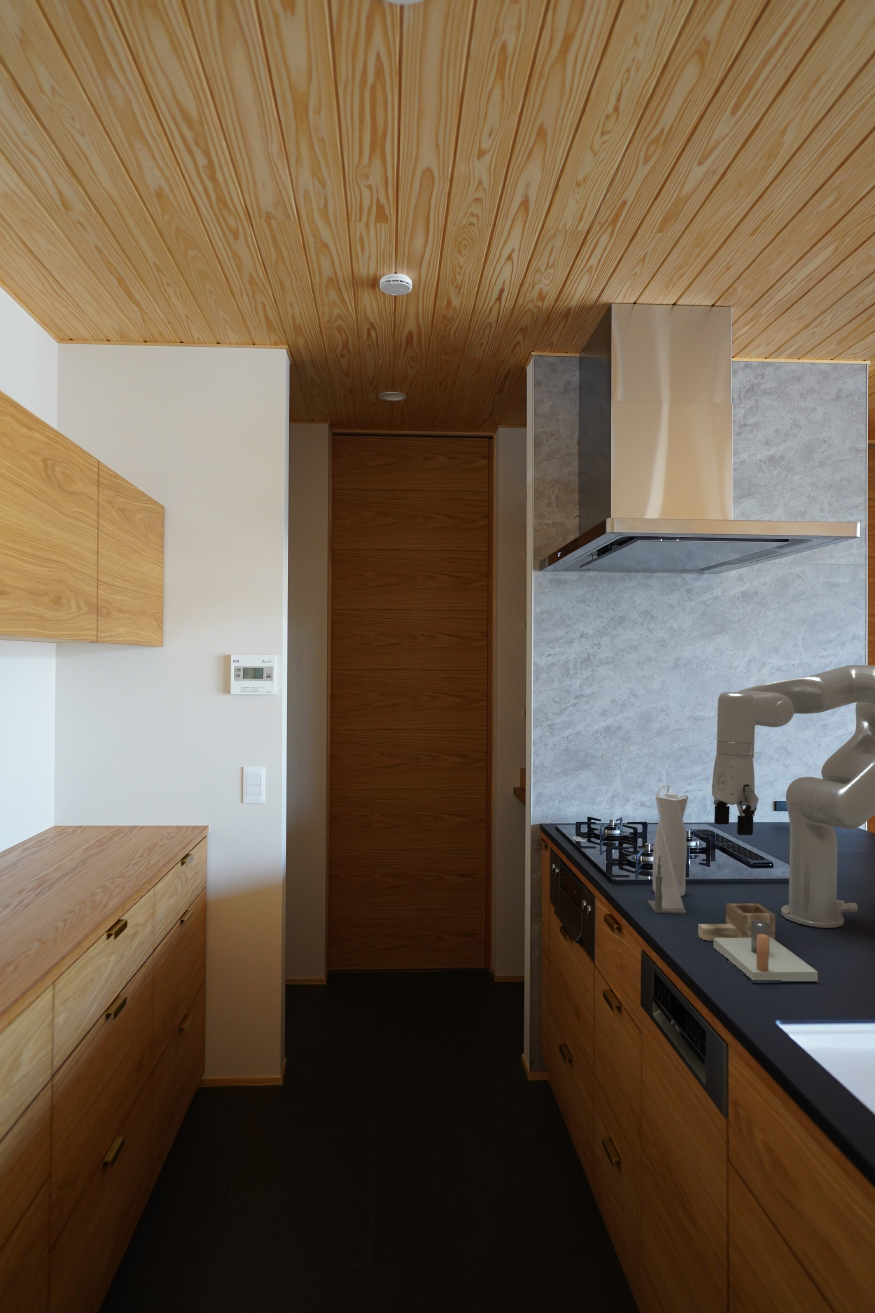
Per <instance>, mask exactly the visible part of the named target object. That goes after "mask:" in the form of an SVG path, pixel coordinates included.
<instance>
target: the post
mask: <svg viewBox="0 0 875 1313" xmlns="http://www.w3.org/2000/svg"><path fill="white" fill-rule="evenodd" d="M757 934H765V935H767V936H769V946H770V924H769V923H768V922H765V921H761V920H753V921H752V932H751V951H752V952H753V953H755V954H757Z"/></svg>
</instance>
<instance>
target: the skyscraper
mask: <svg viewBox="0 0 875 1313" xmlns="http://www.w3.org/2000/svg"><path fill="white" fill-rule="evenodd" d="M670 786H671V785H669V784H664V785H662V786H661V787H660V788H659V789H658V790H657V793H656V794H655V795H656V796H655V801H656V807H657V813H658V817H659V818H658V823H657V827H656V836H655V838H656V872H657V874H656V891H655V892H654V900H647V904H648V905H649V906H650V908H651V909H652V910H653V911H654V913H655V914H657V913H659V914H685V915H686V914H687V910H686V909H685V907H684V903H683V900H682V896H680V892H681V888H682V884H683V879H684V873H685V867H687V853H688V852H687V850H688V849H687V848H688V847H687V844H688V843H687V835H686V828H685V824H684V820H683V819H684V815H685V811H686V809H687V808H686V807H687V805H688V800H689V796H688V795H687V794H683V795H680V796H679V794H678V793H676V792H670ZM664 788H667V789H666V792H665V793H664V795H659V794H660V791H661V790H662V789H664Z"/></svg>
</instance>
